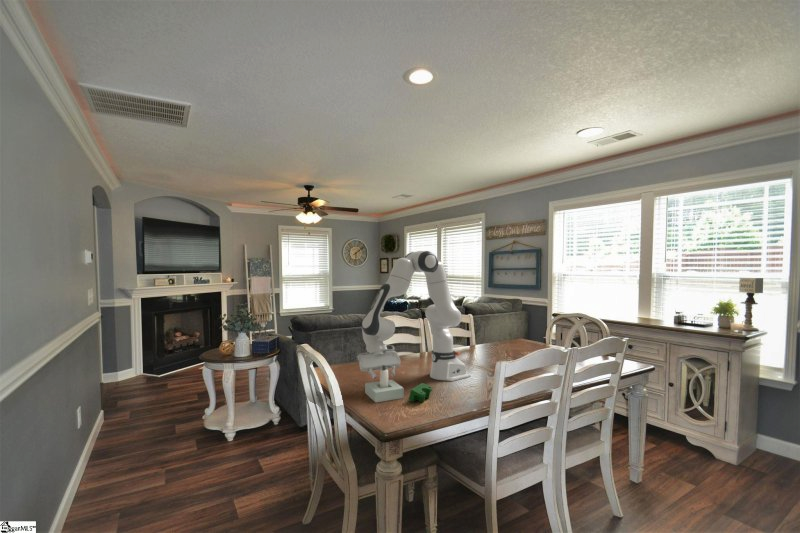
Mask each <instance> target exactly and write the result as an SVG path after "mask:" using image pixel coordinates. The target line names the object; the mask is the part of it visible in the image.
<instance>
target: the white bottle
mask: <svg viewBox="0 0 800 533" xmlns="http://www.w3.org/2000/svg"><path fill="white" fill-rule="evenodd" d="M388 380H389V368H388V369H386V365H383V366H382V369H380V370H379V381H380V389H381V388H388Z"/></svg>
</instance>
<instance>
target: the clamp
mask: <svg viewBox="0 0 800 533" xmlns="http://www.w3.org/2000/svg"><path fill="white" fill-rule="evenodd" d="M432 392H433V387H432V386H431V385H429V384H427V383H424V382H422V383H419V384H418V385H416V386H414V387H413V388H411V389H410V394H409V397H408V400H409V401H410V402H412V403H415V402H416V401H419V402H421V403H425V399H428V400H429V399H430V395H431V393H432Z"/></svg>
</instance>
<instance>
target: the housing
mask: <svg viewBox="0 0 800 533" xmlns="http://www.w3.org/2000/svg"><path fill="white" fill-rule="evenodd" d="M364 393H365V394H366V395H367V397H368V398H370V399H371V400H372V401H373V402H374V403H376V404H377V403H380V402H381V403H382V402H388V401H393V400H399V399H400V400H401V399H404V398H405V389H404V387H403V386H402V385H400V384H399V383H397V382H396V381H395V380H394V379H388V388H381V389H380V380H379V381H371V382H365V383H364Z"/></svg>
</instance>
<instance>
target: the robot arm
mask: <svg viewBox="0 0 800 533" xmlns="http://www.w3.org/2000/svg"><path fill="white" fill-rule="evenodd" d="M414 273H424V275H425V279H426V280H425V281H426V287H427V291H428V296H429V298H430V299H431V301H432V302H433V304H430V305H428V306H427V307H426V308H425V311H424V313H425V314H424V315H425V318H426V320H427V322H428V323H429V327H430V331H431V335H432V336H431V338H432V350H431V368H430V374H429V377H430V378H431V379H432V380H433V379H434V380H437V381H448V382H455V381H458V380H462V379H466V378H470V377H471V373H470V372H469V371H467V366H466V364H465V363H464V362H463V361H462V360H460V359H459V358H458V357H456V356H460V351H455V350H454V337H453V334H452V332H451V331H450V328H454V327H458V326H459V325H460V324H461V322H462V313H461V311H460V310H459V309H458V308H457V306H456V304H455V302H454V301H453V298H452V296H451V293H450V289H449V284H448V277H447V274H446V271H445V268H444V264H443V263H442V262H441V261H440V260H438V257H437V256H436V254H435V253H434V252H432V251H429V250H418V251H417V250H416V251H411V252H409V253H407V254H406V255H405V256H404V257H400V258H398V259H396V261H395V263H394V264H393V267H392V269H391V271H390V274H389V277H388V279H387V280H386V282H385V283H384V284H382V285H381V287H380V288H379V289H378V291H377V293H376V295H375V297H374V299H373V301H372V303H371V305H370V306H369V309H368V311H367V313H366V314H365V315H364V317H363V319H362V322H361V331H362V332H361V333H362V334H361V335H362V339H363V341H364V344H365V346H366V347H365V348H366V352H360V353H359V354H357V361H358V364H359V365H358V366H359V368H360V369H359V370H360V372H362V373H364V372H368V374H369V376H372V380H375V379H377V376H378V375H377V373H374V371H380V369H382V366H383V365H386V369H388V370H389V369H391V372H390V375H391V377H395V375H396V372H395V371H396V368H399V367H400V365H401V363H402V361H401V358H400V356H399V354H398V352H397V351H396V350H395V349H396V348H395V346H394V345H389V344H385V343H384V342H385V341H387V340H389V339H391V338H392V337H394V335H395V333H396V325H395V322H394V321H393V320H390V319H388V318H386V317H382V316H381V313H382V311H383V309H384V307H385V305H386V303H387V301H388V300H389V299H390V298H395V297H400V296H402V295H405V293H407V291H408V290H409V289H410V288H409V287H410V285H411V281H412V279H413V278H412V277H413V275H414Z"/></svg>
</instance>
